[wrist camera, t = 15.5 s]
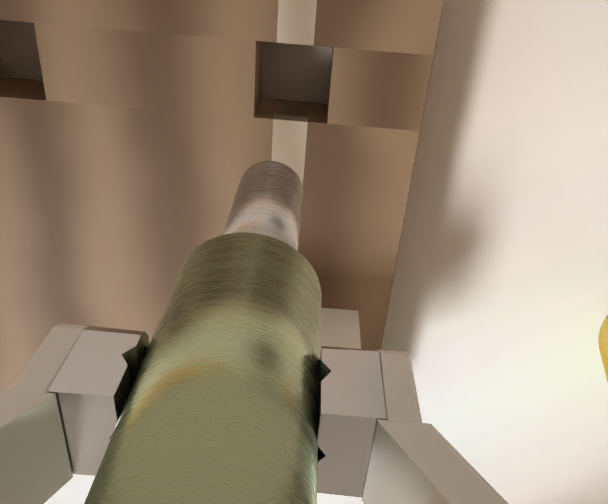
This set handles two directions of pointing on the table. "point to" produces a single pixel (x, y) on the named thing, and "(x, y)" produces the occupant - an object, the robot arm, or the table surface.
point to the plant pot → (604, 345)
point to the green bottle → (229, 368)
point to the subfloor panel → (197, 152)
